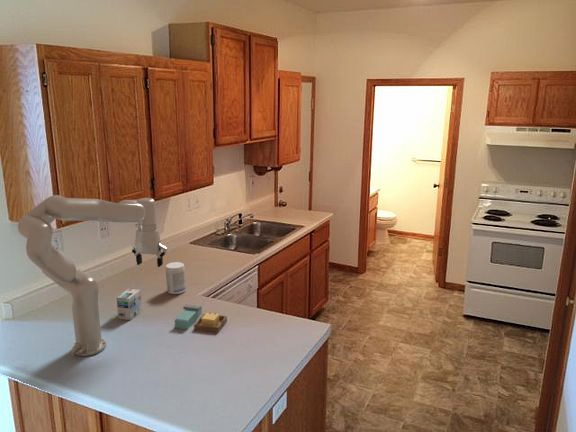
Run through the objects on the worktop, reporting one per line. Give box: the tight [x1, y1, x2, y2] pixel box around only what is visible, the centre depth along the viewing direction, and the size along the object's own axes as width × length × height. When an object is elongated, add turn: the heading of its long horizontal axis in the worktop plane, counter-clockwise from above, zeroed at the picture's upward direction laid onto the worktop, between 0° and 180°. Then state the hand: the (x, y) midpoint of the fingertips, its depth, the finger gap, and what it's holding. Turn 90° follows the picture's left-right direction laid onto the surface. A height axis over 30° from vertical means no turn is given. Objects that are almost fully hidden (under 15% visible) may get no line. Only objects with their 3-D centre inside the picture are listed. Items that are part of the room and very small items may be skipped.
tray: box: [193, 313, 228, 334], centre depth 207 cm, size 11×11×2 cm
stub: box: [201, 312, 220, 327], centre depth 207 cm, size 6×6×4 cm
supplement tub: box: [165, 261, 187, 295], centre depth 242 cm, size 10×10×15 cm
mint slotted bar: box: [174, 304, 203, 330], centre depth 211 cm, size 16×8×5 cm, turn 168°
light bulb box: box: [116, 288, 143, 321], centre depth 216 cm, size 11×7×11 cm, turn 168°
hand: (149, 264), depth 201 cm, fingers open, 9 cm apart
